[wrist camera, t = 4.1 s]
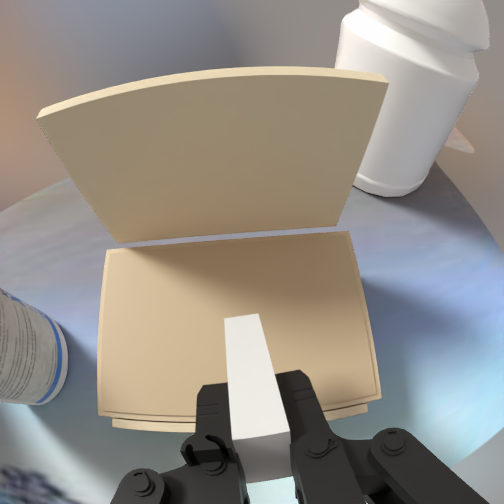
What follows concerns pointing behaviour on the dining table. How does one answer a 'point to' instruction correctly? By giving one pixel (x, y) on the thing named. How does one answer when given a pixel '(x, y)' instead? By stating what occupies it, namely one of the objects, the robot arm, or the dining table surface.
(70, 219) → the dining table surface
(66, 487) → the dining table surface
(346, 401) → the carton
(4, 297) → the supplement tub
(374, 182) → the bottle
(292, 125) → the flap
